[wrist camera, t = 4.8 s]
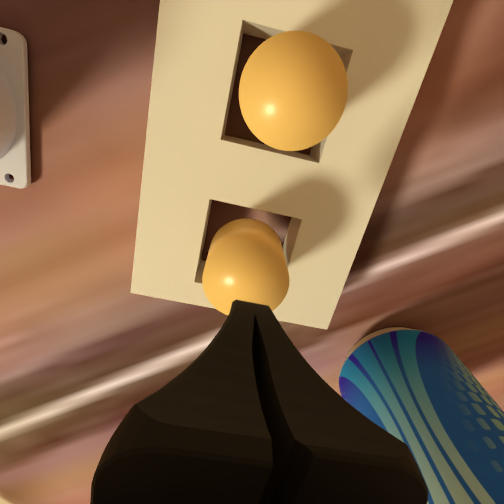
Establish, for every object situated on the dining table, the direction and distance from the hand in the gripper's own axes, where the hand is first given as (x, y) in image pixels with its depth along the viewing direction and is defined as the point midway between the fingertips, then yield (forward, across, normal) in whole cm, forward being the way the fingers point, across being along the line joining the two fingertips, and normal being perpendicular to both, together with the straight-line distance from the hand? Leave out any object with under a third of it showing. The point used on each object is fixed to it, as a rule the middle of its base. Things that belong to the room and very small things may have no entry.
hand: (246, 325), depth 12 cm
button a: (+7, 0, 0) cm, 7 cm away
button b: (+7, 0, -8) cm, 10 cm away
